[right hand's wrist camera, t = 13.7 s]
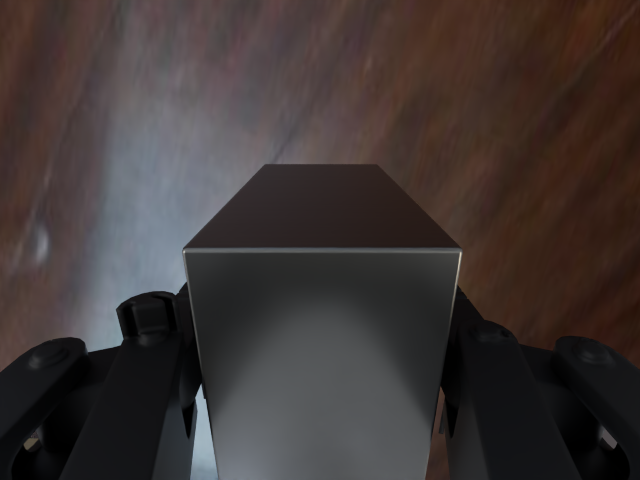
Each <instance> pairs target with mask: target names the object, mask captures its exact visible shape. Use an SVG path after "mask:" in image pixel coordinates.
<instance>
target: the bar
mask: <svg viewBox="0 0 640 480" xmlns="http://www.w3.org/2000/svg"><path fill="white" fill-rule="evenodd" d="M182 253H183V260H184V266H185V272H186V279H187V285H188V291H189V297H190V304H191V310H192V316H193V322H194V329H195V335H196V341H197V347H198V354H199V360H200V366H201V372H202V379H203V385H204V391H205V397H206V404H207V410H208V416H209V422H210V429H211V435H212V441H213V447H214V454H215V460H216V466H217V472H218V479H219V480H425V475H426V469H427V463H428V457H429V451H430V445H431V439H432V433H433V427H434V421H435V415H436V409H437V403H438V397H439V391H440V385H441V379H442V373H443V367H444V361H445V355H446V349H447V343H448V337H449V331H450V325H451V319H452V313H453V307H454V301H455V295H456V289H457V283H458V277H459V271H460V265H461V259H462V253H463V251H462V248H461V247H460V246H459V245H458V244H457V243H456V242H455V241H454V240H453V239H452V238H451V237H450V236H449V235H448V234H447V233H446V232H445V231H444V230H443V229H442V228H441V227H440V226H439V225H438V224H437V223H436V222H435V221H434V220H433V219H432V218H431V217H430V216H429V215H428V214H427V213H426V212H425V211H424V210H423V209H422V208H421V207H420V206H419V205H418V204H417V203H416V202H415V201H414V200H413V199H412V198H411V197H410V196H409V195H408V194H406V193H405V192H404V191H403V190H402V189H401V188H400V187H399V186H398V185H397V184H396V183H395V182H394V181H393V180H392V179H391V178H390V177H389V176H388V175H387V174H386V173H385V172H384V171H383V170H382V169H381V168H380V167H379V166H378V165H377V164H265V165H264V166H263V167H262V168H261V169H260V170H259V171H258V172H257V173H256V174H255V175H254V176H253V177H252V178H251V179H250V180H249V181H248V182H247V183H246V184H245V185H244V186H243V187H242V188H241V189H240V190H239V191H238V192H237V193H236V194H235V195H234V197H233V198H232V199H231V200H230V201H229V202H228V203H227V204H226V205H225V206H224V207H223V208H222V209H221V210H220V211H219V212H218V213H217V214H216V215H215V216H214V217H213V218H212V219H211V220H210V221H209V222H208V223H207V224H206V225H205V226H204V227H203V228H202V229H201V230H200V231H199V232H198V233H197V235H196V236H195V237H194V238H193V239H192V240H191V241H190V242H189V243H188V244H187V245H186V246H185V247H184V248H183V251H182Z"/></svg>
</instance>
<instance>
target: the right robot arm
mask: <svg viewBox="0 0 640 480" xmlns="http://www.w3.org/2000/svg"><path fill="white" fill-rule="evenodd" d="M116 312H117V315H118V319H119V323H120V327H121V331H122V335H123V339H124V340H123V342H122V344H121V346H117V347H113V348H108V349H103V350H98V351H93V352H87V348H86V345H85V342H83V341H82V340H81V339H79V338H73V337H68V338H58V339H53V340H51V341H50V340H49V341H46V342H44V343H42V344H40V345H38V346H36V347H33V348H31V349H30V350H28V351H27V352H25V353H24V354H22V355H21V356H19V357H18V358H17V359H16V360H15V361H13V362H12V363H11V364H10V365H9V366H7V367H6V368H5V369H4V370H3V371H1V372H0V480H190V474H191V465H192V456H193V447H194V438H195V429H196V420H197V405H196V399H195V397H196V394H197V392H198V390H199V387H200V385H201V384H202V390H203V396H204V399H206V397H205V391H204V385H203V379H202V372H201V366H200V360H199V354H198V347H197V341H196V335H195V329H194V322H193V316H192V310H191V304H190V297H189V291H188V285H187V282H186V283H185V284H184V285H183V287H182V288H181V289H180V291H179V293H177V295H174V294H173V293H170V292H165V291H153V292H148V293H143V294H140V295H137V296H134V297H131V298H129V299H128V300H126V301H124V302H123V303H121V304H120V305H119V307H118V308H117V309H116ZM441 388H442V390H443V392H444V394H445V399H444V405H443V411H442V416H441V422H440V428H439V433H440V434H443V433H444V429H445V437H446V446H447V455H448V464H449V473H450V480H640V370H639V369H638V368H637V367H636V366H634V365H633V364H632V363H631V362H629V361H628V360H627V359H626V358H625V357H623V356H622V355H621V354H619V353H618V352H616V351H615V350H613V349H612V348H610V347H609V346H606V345H604V344H602V343H600V342H598V341H596V340H593V339H589V338H585V337H578V336H565V337H561V338H559V339H558V340H557V341H556V343H555V346H554V349H553V351H550V350H545V349H540V348H535V347H530V346H525V345H521V344H519V343H518V341H517V339H516V338H515V336H514V335H513V334H512V333H511V332H510V331H509V330H507V329H506V328H505V327H503V326H501V325H499V324H496V323H494V322H492V321H487V320H484V319H483V318H482V316H481V315H480V314H479V312H478V311H477V310H476V308H475V307H474V306H473V305H472V303H471V302H470V301H469V299H467V297H466V295H465V294H464V293H463V292H461V289H460V288H459V286H458V285H457V289H456V295H455V301H454V307H453V313H452V319H451V325H450V331H449V337H448V343H447V349H446V355H445V361H444V367H443V373H442V379H441ZM605 429H606V430H607V431H608V432H609V434H610V435H611V436H612V437H613V438H614V439H615V440H616V441H617V445H616V447H615V448H614V449H613V448H612V447H611V446H610V445H608V444H607V442H606V441H605V440H604V439H603V438H602V435H603V433H604V431H605ZM35 431H36V432H37V435H38V437H39V439H38V440H37V441H36V442H35V444H34V445H33V446H31V447H30V448H29V449H28V450H26V449H25V446H24V443H25V442H26V441H27V440H28V439H29V438H30V436H31V435H32V434H33V433H34V432H35Z"/></svg>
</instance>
